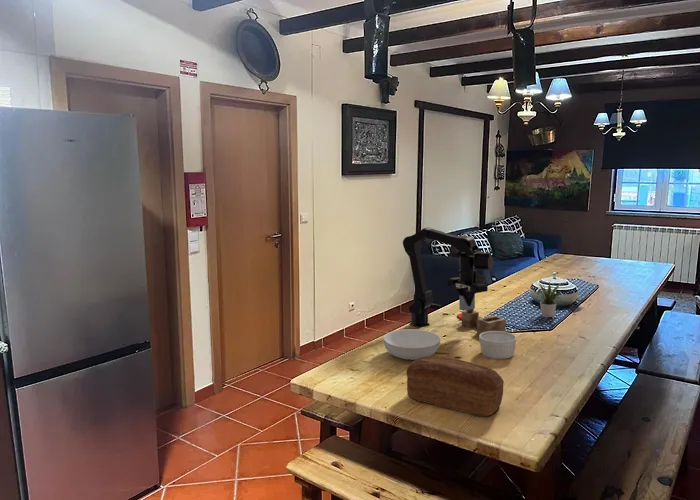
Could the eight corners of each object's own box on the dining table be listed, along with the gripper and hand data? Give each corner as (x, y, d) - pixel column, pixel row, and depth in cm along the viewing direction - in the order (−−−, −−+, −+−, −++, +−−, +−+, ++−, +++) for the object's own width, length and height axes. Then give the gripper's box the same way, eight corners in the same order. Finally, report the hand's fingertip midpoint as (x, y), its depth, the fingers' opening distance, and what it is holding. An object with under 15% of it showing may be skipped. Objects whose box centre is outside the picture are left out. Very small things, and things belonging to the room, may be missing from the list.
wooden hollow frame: (488, 337, 212) (489, 316, 211) (458, 325, 229) (458, 306, 227) (505, 333, 216) (505, 313, 215) (474, 322, 233) (474, 303, 231)
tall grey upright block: (463, 310, 215) (463, 296, 214) (459, 309, 217) (459, 295, 216) (474, 308, 217) (474, 294, 216) (470, 307, 219) (470, 293, 218)
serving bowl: (403, 370, 182) (403, 351, 181) (373, 352, 200) (372, 334, 199) (452, 358, 191) (452, 340, 190) (418, 342, 210) (418, 325, 208)
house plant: (527, 319, 235) (528, 283, 232) (529, 310, 247) (530, 276, 245) (561, 321, 229) (563, 285, 227) (562, 313, 242) (563, 278, 239)
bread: (421, 384, 171) (420, 347, 169) (507, 403, 155) (508, 364, 153) (400, 400, 159) (399, 362, 157) (492, 423, 144) (492, 381, 142)
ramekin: (471, 351, 198) (471, 333, 196) (500, 345, 203) (500, 328, 201) (494, 363, 185) (494, 344, 184) (524, 357, 191) (524, 338, 189)
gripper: (498, 268, 210) (498, 307, 212) (467, 262, 226) (467, 297, 229) (476, 272, 205) (476, 311, 207) (446, 265, 221) (447, 301, 224)
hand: (467, 305), depth 217 cm, fingers closed on tall grey upright block, 2 cm apart
